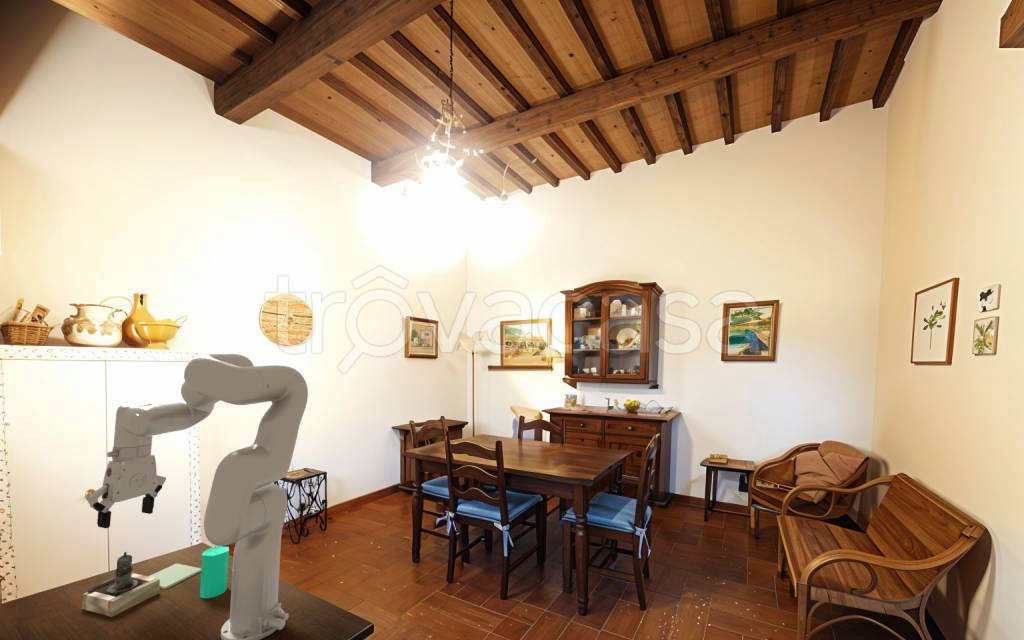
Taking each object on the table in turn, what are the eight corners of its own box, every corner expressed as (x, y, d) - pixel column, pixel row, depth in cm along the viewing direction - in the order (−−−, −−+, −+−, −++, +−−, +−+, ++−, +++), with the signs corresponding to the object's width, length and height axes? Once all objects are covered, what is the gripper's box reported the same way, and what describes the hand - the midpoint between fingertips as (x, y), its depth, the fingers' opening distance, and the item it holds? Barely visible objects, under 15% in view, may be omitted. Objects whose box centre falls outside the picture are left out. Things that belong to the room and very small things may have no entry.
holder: (158, 593, 112) (160, 575, 112) (111, 616, 102) (113, 597, 102) (130, 586, 115) (131, 568, 115) (81, 608, 105) (83, 589, 105)
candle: (213, 599, 109) (215, 551, 110) (193, 596, 110) (196, 548, 111) (232, 587, 115) (235, 541, 116) (213, 584, 116) (216, 538, 117)
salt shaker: (114, 596, 110) (117, 548, 111) (141, 592, 112) (145, 545, 113) (100, 609, 105) (104, 558, 105) (129, 605, 106) (133, 555, 107)
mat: (202, 570, 123) (202, 568, 123) (165, 589, 114) (165, 587, 114) (176, 565, 126) (176, 563, 126) (138, 583, 116) (138, 580, 116)
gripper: (102, 461, 102) (95, 536, 100) (177, 446, 118) (172, 510, 117) (81, 458, 104) (74, 531, 103) (157, 443, 120) (152, 506, 119)
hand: (126, 519), depth 110 cm, fingers open, 9 cm apart
